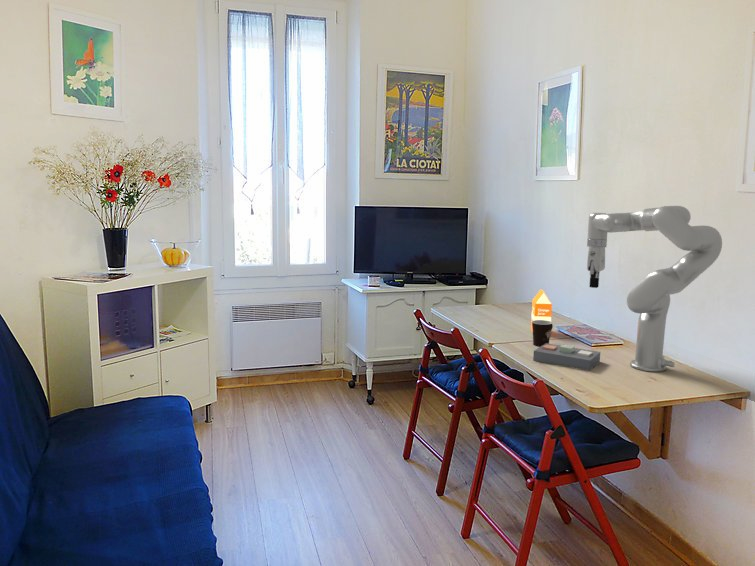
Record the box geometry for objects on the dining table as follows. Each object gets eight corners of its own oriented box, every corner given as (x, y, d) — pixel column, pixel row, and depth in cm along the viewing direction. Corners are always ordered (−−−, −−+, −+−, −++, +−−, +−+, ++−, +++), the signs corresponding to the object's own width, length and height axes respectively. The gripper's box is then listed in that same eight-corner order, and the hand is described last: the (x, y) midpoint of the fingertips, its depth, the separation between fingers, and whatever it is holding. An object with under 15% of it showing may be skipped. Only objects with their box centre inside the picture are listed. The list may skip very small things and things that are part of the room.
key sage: (574, 353, 242) (574, 346, 242) (570, 356, 239) (571, 348, 238) (563, 352, 245) (563, 344, 244) (559, 354, 241) (560, 346, 241)
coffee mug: (537, 347, 261) (538, 325, 259) (527, 342, 269) (528, 320, 267) (561, 346, 264) (562, 323, 262) (550, 341, 272) (551, 319, 271)
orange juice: (547, 330, 292) (549, 289, 288) (550, 334, 283) (552, 292, 280) (530, 329, 293) (532, 288, 289) (533, 334, 284) (535, 292, 281)
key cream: (591, 360, 239) (592, 352, 238) (588, 362, 235) (589, 354, 234) (580, 358, 241) (581, 350, 241) (577, 360, 237) (577, 352, 237)
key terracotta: (556, 353, 246) (557, 346, 246) (552, 356, 243) (553, 348, 242) (545, 352, 249) (546, 344, 248) (542, 354, 245) (542, 346, 245)
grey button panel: (599, 361, 242) (600, 352, 241) (589, 370, 230) (590, 360, 230) (545, 352, 254) (546, 343, 253) (533, 360, 243) (533, 350, 242)
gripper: (601, 245, 242) (598, 290, 245) (611, 242, 254) (608, 285, 257) (582, 244, 246) (579, 288, 249) (592, 241, 258) (589, 284, 261)
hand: (593, 287), depth 253 cm, fingers closed
